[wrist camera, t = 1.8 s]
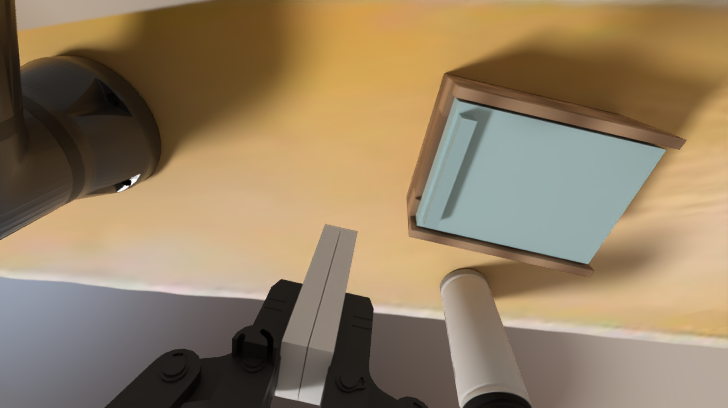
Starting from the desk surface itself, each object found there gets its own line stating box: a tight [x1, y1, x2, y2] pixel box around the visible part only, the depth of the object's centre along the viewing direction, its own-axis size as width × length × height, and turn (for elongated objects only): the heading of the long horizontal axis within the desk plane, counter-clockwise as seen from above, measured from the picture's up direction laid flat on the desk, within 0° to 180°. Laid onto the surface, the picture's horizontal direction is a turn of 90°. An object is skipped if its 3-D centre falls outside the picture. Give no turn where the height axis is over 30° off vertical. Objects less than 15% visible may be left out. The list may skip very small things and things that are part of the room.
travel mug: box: [440, 269, 532, 408], centre depth 36 cm, size 6×7×20 cm
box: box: [407, 73, 686, 277], centre depth 32 cm, size 18×14×8 cm
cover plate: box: [416, 97, 666, 264], centre depth 29 cm, size 17×12×4 cm
